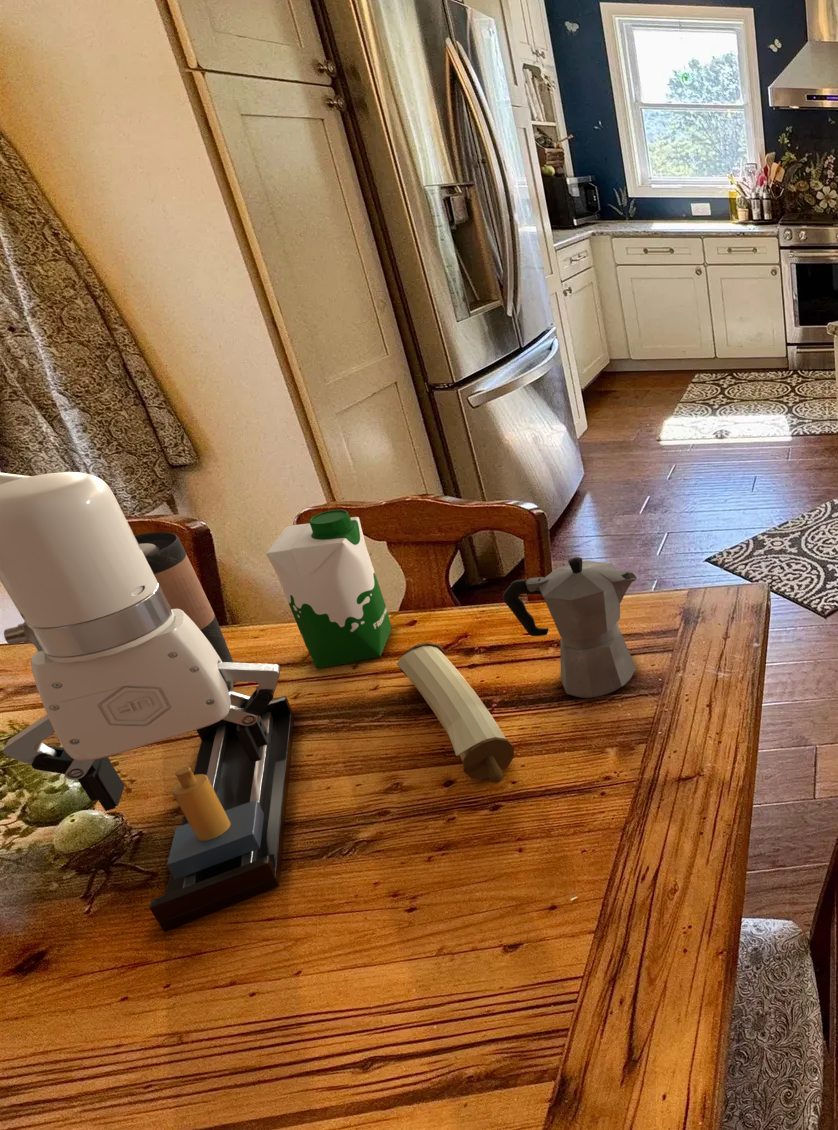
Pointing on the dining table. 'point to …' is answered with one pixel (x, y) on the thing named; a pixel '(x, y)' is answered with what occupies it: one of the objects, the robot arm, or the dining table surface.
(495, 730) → the cream curved cylinder
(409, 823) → the dining table surface
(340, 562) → the milk carton
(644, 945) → the dining table surface
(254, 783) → the rail
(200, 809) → the sliding carriage
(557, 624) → the coffeepot
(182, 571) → the travel mug
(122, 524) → the robot arm
